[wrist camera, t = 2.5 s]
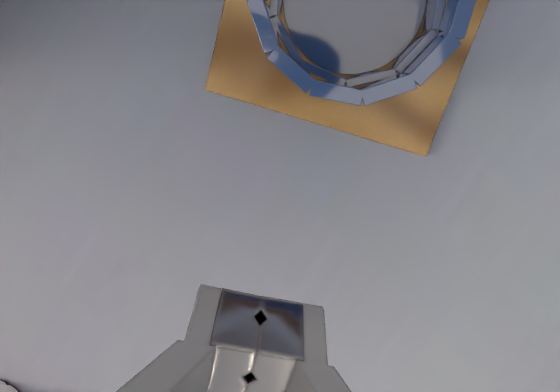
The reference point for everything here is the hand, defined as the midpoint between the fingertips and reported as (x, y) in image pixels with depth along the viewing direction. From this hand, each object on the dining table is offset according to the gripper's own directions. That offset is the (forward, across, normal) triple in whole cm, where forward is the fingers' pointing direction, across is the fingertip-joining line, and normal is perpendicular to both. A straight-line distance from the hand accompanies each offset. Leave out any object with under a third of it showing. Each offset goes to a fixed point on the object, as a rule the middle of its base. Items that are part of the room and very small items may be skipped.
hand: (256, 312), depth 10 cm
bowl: (+26, -4, -4) cm, 27 cm away
